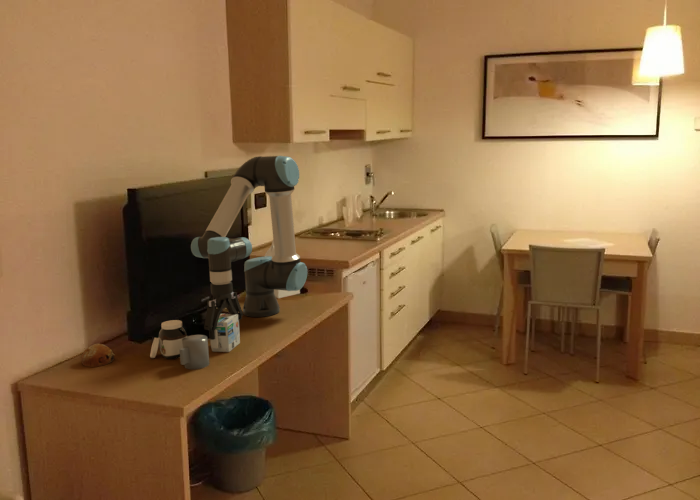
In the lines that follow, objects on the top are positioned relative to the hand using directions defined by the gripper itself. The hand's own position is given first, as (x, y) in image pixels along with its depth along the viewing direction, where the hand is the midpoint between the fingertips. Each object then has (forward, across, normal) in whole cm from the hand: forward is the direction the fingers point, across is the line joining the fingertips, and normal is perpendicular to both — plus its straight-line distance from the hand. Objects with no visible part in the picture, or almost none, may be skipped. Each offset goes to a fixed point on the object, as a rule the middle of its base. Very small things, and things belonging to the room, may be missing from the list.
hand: (225, 342), depth 229 cm
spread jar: (+2, +15, -13) cm, 20 cm away
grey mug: (+2, +19, +2) cm, 20 cm away
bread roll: (+2, +28, -32) cm, 42 cm away
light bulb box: (+2, 0, 0) cm, 2 cm away
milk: (+2, -72, -23) cm, 76 cm away
